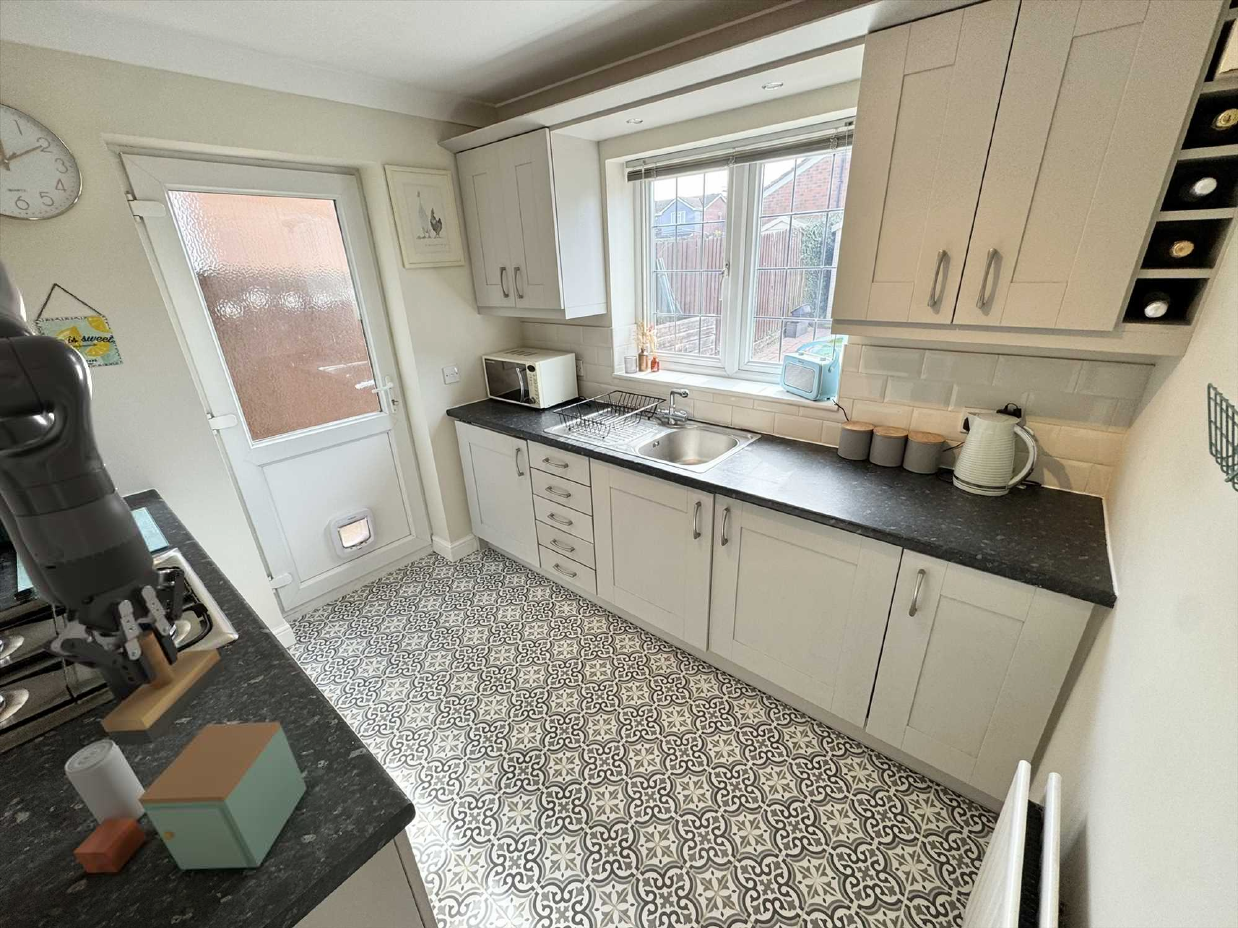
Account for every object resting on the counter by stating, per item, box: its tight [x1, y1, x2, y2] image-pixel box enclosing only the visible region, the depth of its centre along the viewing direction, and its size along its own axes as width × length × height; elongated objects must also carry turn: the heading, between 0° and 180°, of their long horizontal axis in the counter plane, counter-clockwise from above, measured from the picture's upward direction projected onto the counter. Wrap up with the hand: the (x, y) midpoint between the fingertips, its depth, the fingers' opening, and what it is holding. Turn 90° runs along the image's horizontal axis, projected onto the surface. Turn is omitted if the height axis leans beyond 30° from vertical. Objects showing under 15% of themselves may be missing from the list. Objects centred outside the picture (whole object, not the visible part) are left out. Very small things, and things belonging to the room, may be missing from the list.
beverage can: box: [64, 739, 146, 825], centre depth 65 cm, size 5×5×12 cm
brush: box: [99, 631, 225, 746], centre depth 55 cm, size 4×10×10 cm, turn 1°
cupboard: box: [138, 721, 308, 870], centre depth 62 cm, size 11×10×13 cm
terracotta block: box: [72, 818, 147, 873], centre depth 62 cm, size 4×4×4 cm
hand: (156, 671), depth 55 cm, fingers closed on brush, 2 cm apart
